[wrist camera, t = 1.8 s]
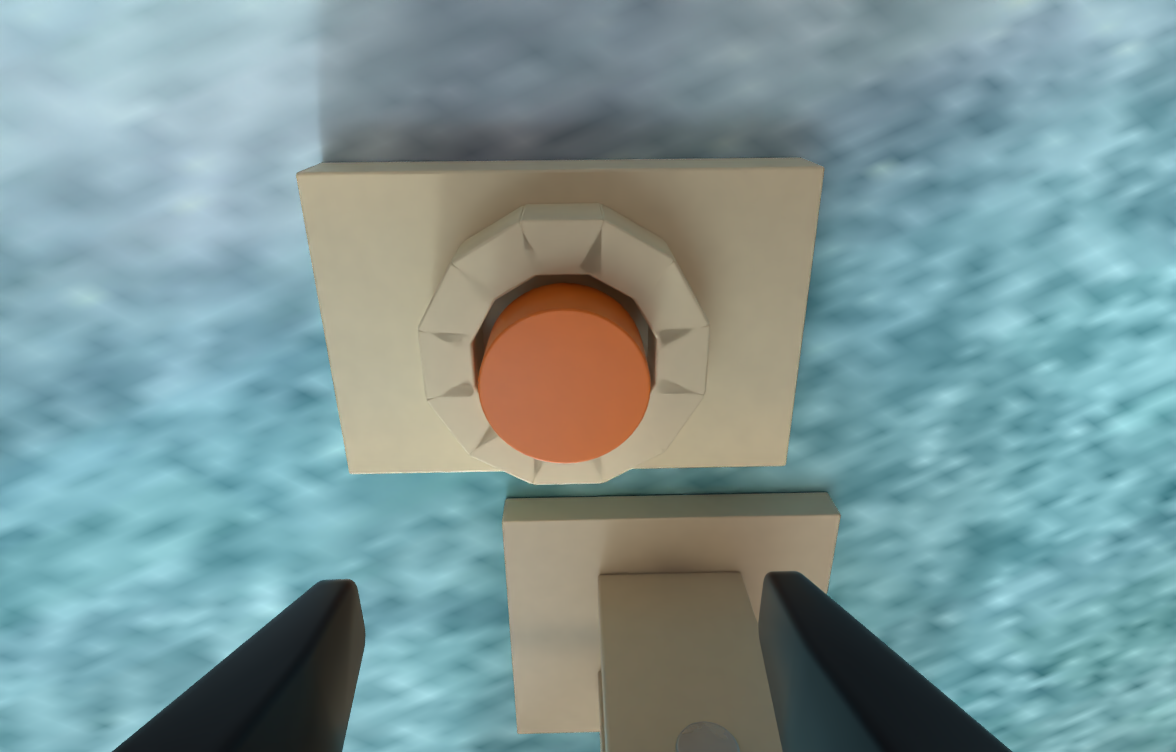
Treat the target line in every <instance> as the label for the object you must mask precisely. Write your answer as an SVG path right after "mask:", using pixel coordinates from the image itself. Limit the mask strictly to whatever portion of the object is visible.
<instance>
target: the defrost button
mask: <svg viewBox="0 0 1176 752" xmlns="http://www.w3.org/2000/svg"><path fill="white" fill-rule="evenodd" d="M650 392H651V378H650V372H649V367H648V363H647V359H646V355H645V351H644V347H643V343H642V340H641V336H640V333H639V330H638V328H637V326H636V324H635V322H634V320H633V319H632V317H631V316H630V315H629V313H628V312H627V311H626V310H625V309H624V307H623V306H622V305H621V304H619V303H618V302H617V301H616V300H615V299H613V298H612V297H610V296H609V295H607V294H605V293H604V292H601V291H599V290H597V289H595V288H592V287H589V286H585V285H580V284H574V283H556V284H549V285H544V286H541V287H538V288H535V289H532V290H530V291H528V292H526V293H524V294H522V295H521V296H519V297H518V298H516V299H515V300H514V301H512V302H511V303H510V304H509V305H508V306H507V307H506V308H505V309H504V310H503V312H502V313H501V314H500V315H499V317H498V318H497V320H496V322H495V323H494V326H493V328H492V330H491V333H490V336H489V339H488V343H487V346H486V349H485V353H484V356H483V360H482V363H481V366H480V370H479V377H478V393H479V400H480V404H481V407H482V410H483V412H484V415H485V417H486V419H487V421H488V422H489V424H490V425H491V427H492V428H493V430H494V431H495V432H496V433H497V434H498V436H499V437H500V438H501V439H503V440H504V441H505V442H506V443H507V444H508V445H510V446H511V447H512V448H514V449H515V450H517V451H519V452H521V453H522V454H524V455H527V456H529V457H532V458H534V459H537V460H541V461H545V462H551V463H564V464H568V463H579V462H584V461H589V460H592V459H595V458H598V457H600V456H603V455H605V454H607V453H609V452H610V451H612V450H614V449H616V448H617V447H618V446H620V445H621V444H622V443H623V442H625V441H626V440H627V439H628V438H629V437H630V436H631V435H632V434H633V432H634V431H635V430H636V428H637V427H638V426H639V424H640V422H641V421H642V419H643V417H644V415H645V412H646V410H647V407H648V403H649V399H650Z"/></svg>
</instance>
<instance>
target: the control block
mask: <svg viewBox="0 0 1176 752" xmlns="http://www.w3.org/2000/svg"><path fill="white" fill-rule="evenodd" d="M823 177H824V167H823V166H820V165H818V164H816V163H813V162H811V161H808V160H806V159H804V158H801V157H785V158H694V159H603V160H513V161H422V162H332V163H319V164H317V165H315V166H312V167H310V168H307V169H305V170H302V171H300V172H298V173H297V174H296V178H297V183H298V189H299V195H300V200H301V206H302V211H303V217H304V222H305V228H306V234H307V239H308V245H309V250H310V256H311V262H312V267H313V273H314V278H315V284H316V289H317V295H318V301H319V306H320V312H321V317H322V323H323V329H324V334H325V340H326V345H327V351H328V356H329V362H330V368H331V373H332V379H333V384H334V390H335V396H336V401H337V407H338V412H339V418H340V424H341V429H342V435H343V440H344V446H345V451H346V457H347V463H348V468H349V473H350V474H383V473H436V472H489V471H504V472H506V473H508V474H511V475H513V476H515V477H517V478H519V479H522V480H524V481H526V482H528V483H530V484H534V485H546V484H598V483H603V482H607V481H609V480H611V479H613V478H615V477H617V476H619V475H620V474H622V473H624V472H626V471H628V470H630V469H647V468H700V467H753V466H785V465H786V459H787V452H788V444H789V437H790V429H791V421H792V414H793V406H794V398H795V391H796V383H797V375H798V368H799V360H800V353H801V345H802V337H803V330H804V322H805V314H806V307H807V299H808V291H809V284H810V276H811V269H812V261H813V253H814V246H815V238H816V230H817V223H818V215H819V207H820V200H821V192H822V185H823ZM556 283H574V284H580V285H585V286H589V287H592V288H595V289H597V290H599V291H601V292H604V293H605V294H607V295H609V296H610V297H612V298H613V299H615V300H616V301H617V302H618V303H619V304H621V305H622V306H623V307H624V309H625V310H626V311H627V312H628V313H629V315H630V316H631V317H632V319H633V320H634V322H635V324H636V326H637V328H638V330H639V333H640V336H641V340H642V343H643V347H644V351H645V355H646V359H647V363H648V367H649V372H650V378H651V392H650V399H649V403H648V407H647V410H646V412H645V415H644V417H643V419H642V421H641V422H640V424H639V426H638V427H637V428H636V430H635V431H634V432H633V434H632V435H631V436H630V437H629V438H628V439H627V440H626V441H625V442H623V443H622V444H621V445H620V446H618V447H617V448H616V449H614V450H612V451H610V452H609V453H607V454H605V455H603V456H600V457H598V458H595V459H592V460H589V461H584V462H579V463H568V464H564V463H551V462H545V461H541V460H537V459H534V458H532V457H529V456H527V455H524V454H522V453H521V452H519V451H517V450H515V449H514V448H512V447H511V446H510V445H508V444H507V443H506V442H505V441H504V440H503V439H501V438H500V437H499V436H498V434H497V433H496V432H495V431H494V430H493V428H492V427H491V425H490V424H489V422H488V421H487V419H486V417H485V415H484V412H483V410H482V407H481V404H480V400H479V393H478V377H479V370H480V366H481V363H482V360H483V356H484V353H485V349H486V346H487V343H488V339H489V336H490V333H491V330H492V328H493V326H494V323H495V322H496V320H497V318H498V317H499V315H500V314H501V313H502V312H503V310H504V309H505V308H506V307H507V306H508V305H509V304H510V303H511V302H512V301H514V300H515V299H516V298H518V297H519V296H521V295H522V294H524V293H526V292H528V291H530V290H532V289H535V288H538V287H541V286H544V285H549V284H556Z"/></svg>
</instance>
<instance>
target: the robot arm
mask: <svg viewBox="0 0 1176 752" xmlns="http://www.w3.org/2000/svg"><path fill="white" fill-rule="evenodd" d="M758 631H759V640H760V645H761V650H762V655H763V659H764V664H765V669H766V674H767V679H768V684H769V688H770V693H771V698H772V703H773V708H774V713H775V717H776V722H777V727H778V732H779V737H780V741H781V746H782V750H783V752H1012V751H1011V750H1010V749H1009V748H1007V747H1006V746H1005V745H1004V744H1003V743H1002V742H1000V741H999V740H998V739H997V738H996V737H994V736H993V735H992V734H991V733H990V732H989V731H987V730H986V729H985V728H984V727H983V726H981V725H980V724H979V723H978V722H977V721H976V720H974V719H973V718H972V717H971V716H970V715H968V714H967V713H966V712H965V711H964V710H963V709H961V708H960V707H959V706H958V705H957V704H955V703H954V702H953V701H952V700H951V699H950V698H948V697H947V696H946V695H945V694H944V693H943V692H941V691H940V690H939V689H938V688H937V687H935V686H934V685H933V684H932V683H931V682H930V681H928V680H927V679H926V678H925V677H924V676H922V675H921V674H920V673H919V672H918V671H917V670H915V669H914V668H913V667H912V666H911V665H909V664H908V663H907V662H906V661H905V660H904V659H902V658H901V657H900V656H899V655H898V654H896V653H895V652H894V651H893V650H892V649H891V648H889V647H888V646H887V645H886V644H885V643H883V642H882V641H881V640H880V639H879V638H878V637H876V636H875V635H874V634H873V633H872V632H870V631H869V630H868V629H867V628H866V627H865V626H863V625H862V624H861V623H860V622H859V621H857V620H856V619H855V618H854V617H853V616H852V615H850V614H849V613H848V612H847V611H846V610H844V609H843V608H842V607H841V606H840V605H839V604H837V603H836V602H835V601H834V600H833V599H831V598H830V597H829V596H828V595H827V594H826V593H824V592H823V591H822V590H821V589H820V588H818V587H817V586H816V585H815V584H814V583H813V582H811V581H810V580H809V579H808V578H807V577H805V576H804V575H803V574H802V573H800V572H798V571H770V572H769V573H767V574H766V575H765V578H764V581H763V588H762V596H761V604H760V612H759V620H758ZM364 646H365V626H364V620H363V615H362V610H361V604H360V599H359V594H358V589H357V586H356V584H355V582H353V581H352V580H350V579H336V580H322V581H319V582H318V583H316V584H315V585H314V586H312V587H311V588H310V589H309V590H308V591H306V592H305V593H304V594H303V595H302V596H300V597H299V598H298V599H297V600H295V601H294V602H293V603H292V604H291V605H289V606H288V607H287V608H286V609H285V610H283V611H282V612H281V613H280V614H278V615H277V616H276V617H275V618H274V619H272V620H271V621H270V622H269V623H268V624H266V625H265V626H264V627H263V628H261V629H260V630H259V631H258V632H257V633H255V634H254V635H253V636H252V637H251V638H249V639H248V640H247V641H246V642H245V643H243V644H242V645H241V646H240V647H238V648H237V649H236V650H235V651H234V652H232V653H231V654H230V655H229V656H228V657H226V658H225V659H224V660H223V661H221V662H220V663H219V664H218V665H217V666H215V667H214V668H213V669H212V670H211V671H209V672H208V673H207V674H206V675H204V676H203V677H202V678H201V679H200V680H198V681H197V682H196V683H195V684H194V685H192V686H191V687H190V688H189V689H187V690H186V691H185V692H184V693H183V694H181V695H180V696H179V697H178V698H177V699H175V700H174V701H173V702H172V703H171V704H169V705H168V706H167V707H166V708H164V709H163V710H162V711H161V712H160V713H158V714H157V715H156V716H155V717H154V718H152V719H151V720H150V721H149V722H147V723H146V724H145V725H144V726H143V727H141V728H140V729H139V730H138V731H137V732H135V733H134V734H133V735H132V736H130V737H129V738H128V739H127V740H126V741H124V742H123V743H122V744H121V745H120V746H118V747H117V748H116V749H115V750H114V751H112V752H342V749H343V744H344V740H345V735H346V730H347V726H348V721H349V717H350V712H351V707H352V703H353V698H354V693H355V689H356V684H357V679H358V675H359V670H360V665H361V661H362V656H363V652H364Z"/></svg>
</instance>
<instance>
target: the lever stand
mask: <svg viewBox="0 0 1176 752" xmlns="http://www.w3.org/2000/svg"><path fill="white" fill-rule="evenodd" d="M840 517H841V515H840V513H839V511H838V509H837V508H836V506H835V504H834V503H833V501H832V499H831V498H830V496H829V494H828V493H827V492H815V493H764V494H713V495H662V496H611V497H560V498H509V499H506V500H505V505H504V512H503V519H502V529H503V543H504V556H505V570H506V584H507V597H508V611H509V625H510V639H511V652H512V666H513V680H514V693H515V707H516V721H517V733H518V734H535V733H574V732H600V750H601V752H783V750H782V746H781V741H780V737H779V732H778V727H777V722H776V717H775V713H774V708H773V703H772V698H771V693H770V688H769V684H768V679H767V674H766V669H765V664H764V659H763V655H762V650H761V645H760V640H759V631H758V620H759V612H760V604H761V596H762V588H763V581H764V578H765V575H766V574H767V573H769V572H770V571H798V572H800V573H802V574H803V575H804V576H805V577H807V578H808V579H809V580H810V581H811V582H813V583H814V584H815V585H816V586H817V587H818V588H820V589H821V590H822V591H823V592H824V593H826V594H827V590H828V585H829V579H830V573H831V568H832V562H833V556H834V551H835V545H836V539H837V534H838V528H839V522H840Z"/></svg>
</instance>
